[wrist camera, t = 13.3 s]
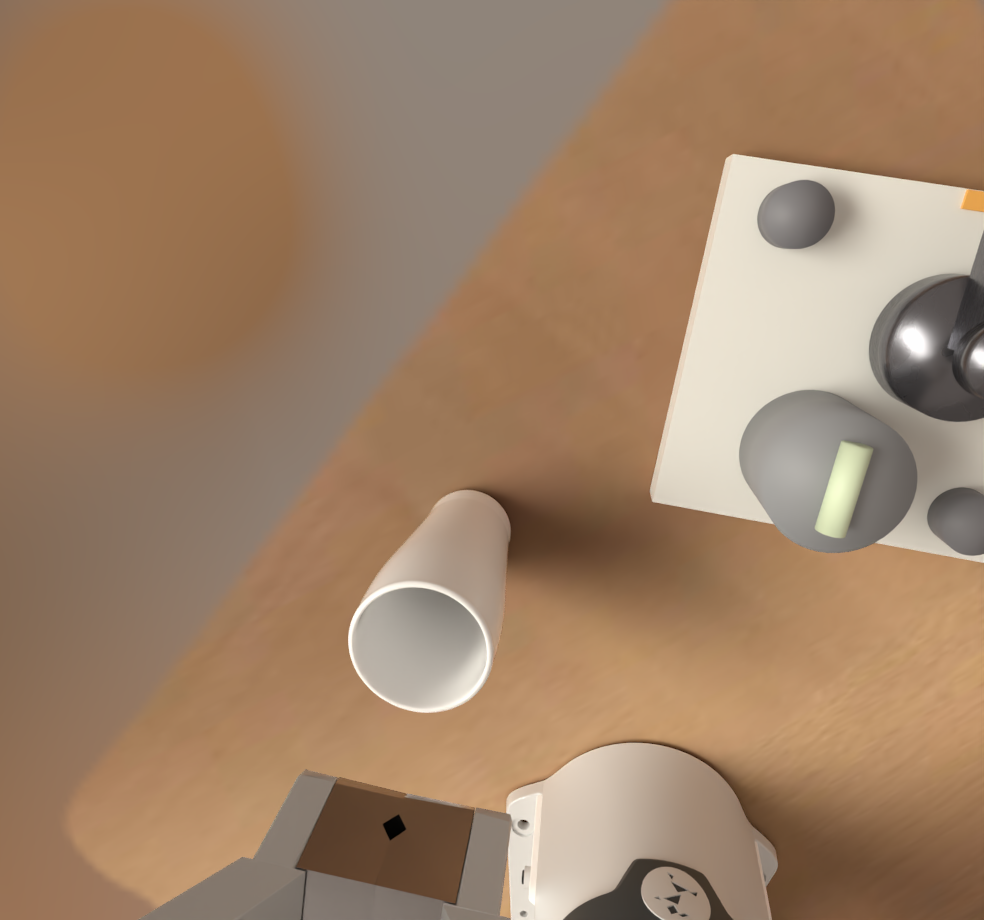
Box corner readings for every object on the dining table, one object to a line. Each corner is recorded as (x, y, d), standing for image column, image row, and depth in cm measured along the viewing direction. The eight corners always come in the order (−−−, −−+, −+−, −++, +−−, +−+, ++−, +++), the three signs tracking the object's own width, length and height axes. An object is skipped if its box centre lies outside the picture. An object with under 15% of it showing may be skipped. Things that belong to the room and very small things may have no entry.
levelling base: (971, 549, 43) (1069, 628, 35) (649, 490, 45) (665, 551, 36) (1098, 213, 38) (1254, 204, 29) (726, 158, 39) (766, 133, 30)
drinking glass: (521, 475, 46) (491, 581, 31) (525, 575, 47) (498, 718, 33) (414, 476, 46) (337, 579, 32) (422, 574, 48) (352, 713, 34)
